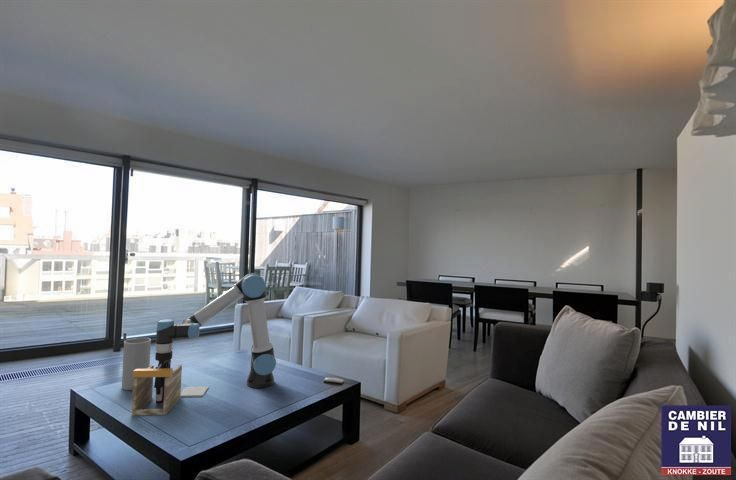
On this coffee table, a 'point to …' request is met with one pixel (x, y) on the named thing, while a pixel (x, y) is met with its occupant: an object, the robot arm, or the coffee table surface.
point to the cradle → (144, 393)
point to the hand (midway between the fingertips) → (161, 397)
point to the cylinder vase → (134, 359)
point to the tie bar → (153, 372)
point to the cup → (162, 392)
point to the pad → (193, 391)
